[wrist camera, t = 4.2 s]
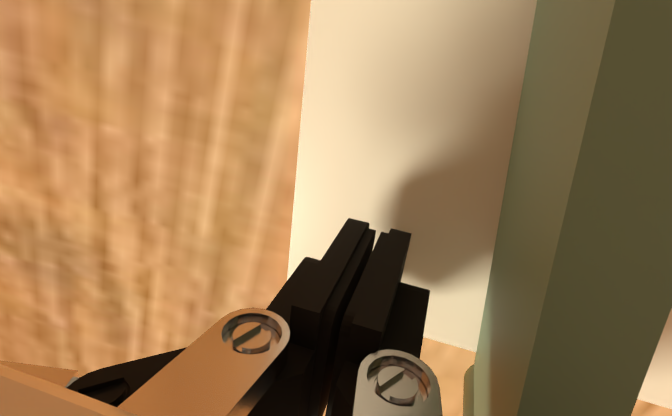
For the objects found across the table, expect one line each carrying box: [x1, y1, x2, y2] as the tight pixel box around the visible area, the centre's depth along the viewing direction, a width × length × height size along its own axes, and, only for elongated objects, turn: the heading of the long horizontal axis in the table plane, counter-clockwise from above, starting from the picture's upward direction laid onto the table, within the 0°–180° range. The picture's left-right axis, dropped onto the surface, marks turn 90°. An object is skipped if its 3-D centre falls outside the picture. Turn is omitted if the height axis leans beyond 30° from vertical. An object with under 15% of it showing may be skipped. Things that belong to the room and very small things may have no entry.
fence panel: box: [463, 0, 672, 416], centre depth 7 cm, size 13×2×6 cm, turn 0°
